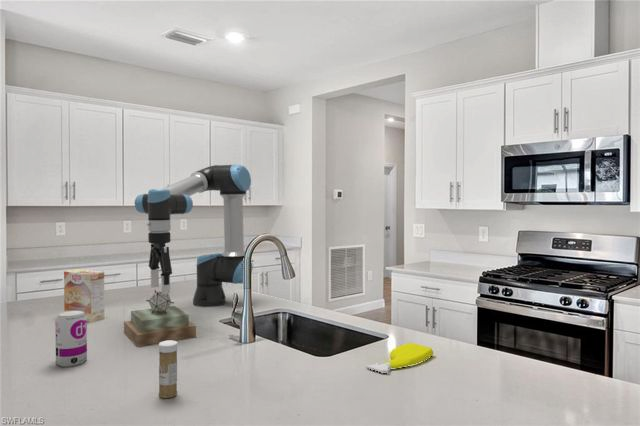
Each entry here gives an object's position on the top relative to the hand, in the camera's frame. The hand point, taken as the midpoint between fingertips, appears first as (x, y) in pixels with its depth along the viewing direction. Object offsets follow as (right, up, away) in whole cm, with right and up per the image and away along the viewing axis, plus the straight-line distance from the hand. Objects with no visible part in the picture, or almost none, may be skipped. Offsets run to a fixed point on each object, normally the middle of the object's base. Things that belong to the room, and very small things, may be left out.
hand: (160, 290), depth 167 cm
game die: (0, -8, 0) cm, 8 cm away
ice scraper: (+83, -18, -25) cm, 88 cm away
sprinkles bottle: (+20, -18, -51) cm, 57 cm away
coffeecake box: (-38, -15, +21) cm, 46 cm away
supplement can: (-17, -17, -28) cm, 37 cm away
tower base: (0, -16, 0) cm, 16 cm away
